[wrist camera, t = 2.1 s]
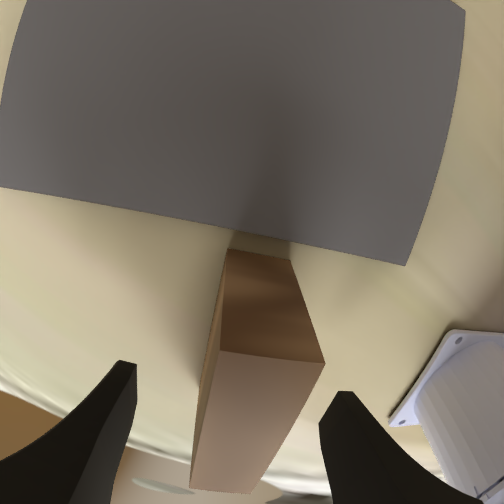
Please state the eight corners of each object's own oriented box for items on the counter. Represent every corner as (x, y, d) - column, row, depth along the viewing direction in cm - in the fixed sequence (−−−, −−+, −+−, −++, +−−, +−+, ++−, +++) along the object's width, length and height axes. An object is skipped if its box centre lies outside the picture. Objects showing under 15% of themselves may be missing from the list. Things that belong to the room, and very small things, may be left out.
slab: (293, 260, 12) (331, 364, 7) (249, 395, 15) (253, 494, 10) (227, 247, 12) (219, 350, 7) (199, 387, 15) (188, 487, 10)
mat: (457, 13, 8) (465, 10, 8) (399, 260, 13) (405, 266, 12) (62, -59, 6) (56, -64, 5) (2, 183, 10) (-6, 185, 10)
